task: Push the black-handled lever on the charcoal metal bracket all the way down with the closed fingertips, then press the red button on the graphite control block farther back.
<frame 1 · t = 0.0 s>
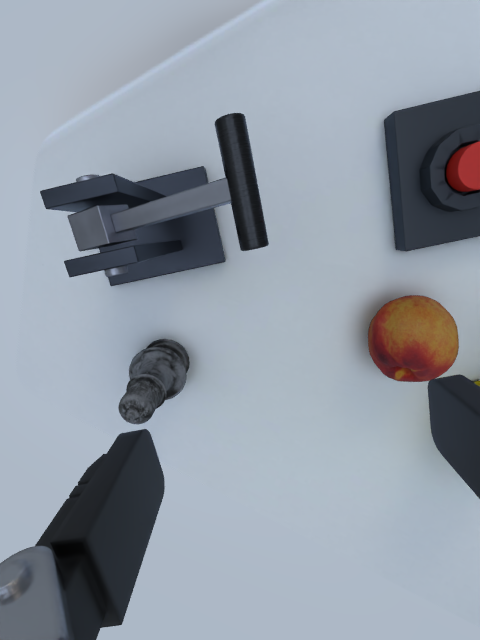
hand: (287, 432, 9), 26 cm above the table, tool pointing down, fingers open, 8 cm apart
fruit: (392, 326, 36), on the table
bracket: (158, 229, 33), on the table
button: (474, 167, 27), point 4 cm above the table, slide at 0.1 cm
black chess piece: (166, 360, 37), on the table
lever: (159, 211, 19), point 15 cm above the table, hinge at 25.0°
control block: (443, 176, 31), on the table
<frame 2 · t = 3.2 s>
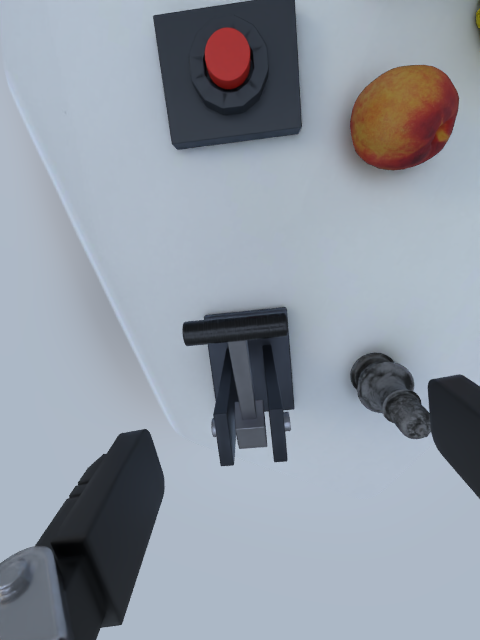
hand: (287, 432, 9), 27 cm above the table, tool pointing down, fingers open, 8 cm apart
fruit: (381, 135, 32), on the table
bracket: (250, 361, 38), on the table
button: (228, 59, 27), point 4 cm above the table, slide at 0.1 cm
black chess piece: (373, 373, 39), on the table
lever: (244, 386, 23), point 15 cm above the table, hinge at 25.0°
control block: (231, 83, 31), on the table
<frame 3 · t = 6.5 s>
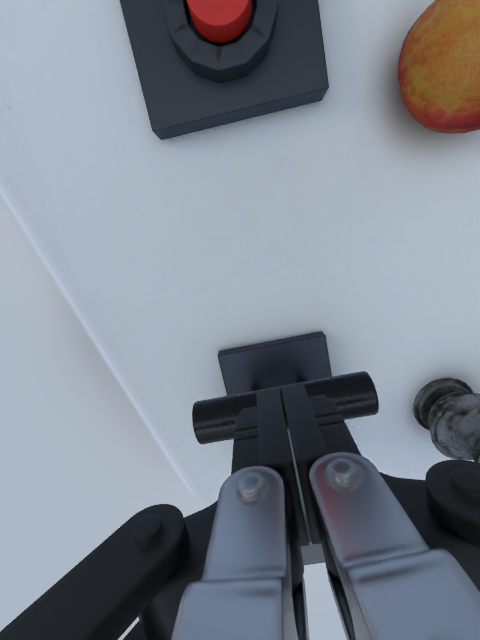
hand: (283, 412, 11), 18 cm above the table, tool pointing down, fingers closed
fruit: (436, 89, 23), on the table
bracket: (282, 403, 30), on the table
black chess piece: (442, 404, 30), on the table
lever: (298, 483, 14), point 15 cm above the table, hinge at 22.2°, touching gripper
control block: (224, 41, 23), on the table
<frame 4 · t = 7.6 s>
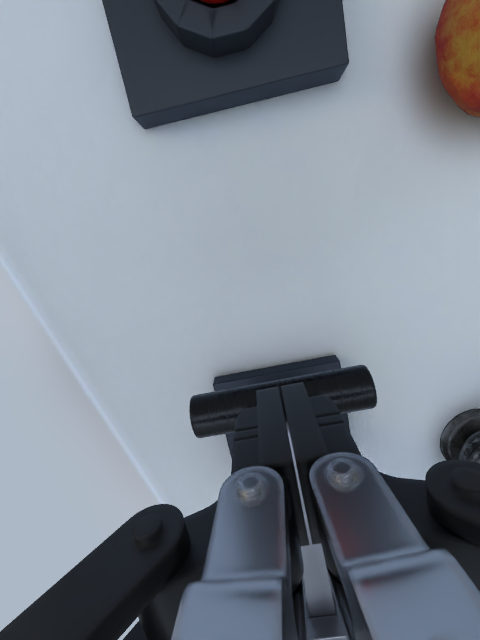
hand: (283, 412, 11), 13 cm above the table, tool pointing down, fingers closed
fruit: (476, 68, 19), on the table
bracket: (288, 436, 26), on the table
black chess piece: (473, 438, 26), on the table
lever: (306, 532, 12), point 13 cm above the table, hinge at -3.2°, touching gripper
control block: (221, 8, 19), on the table
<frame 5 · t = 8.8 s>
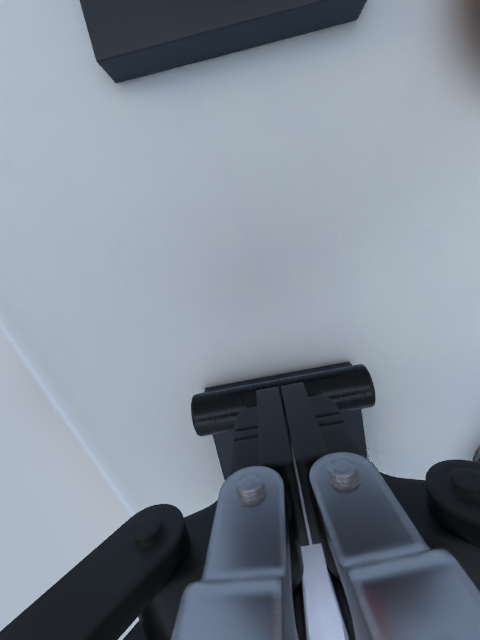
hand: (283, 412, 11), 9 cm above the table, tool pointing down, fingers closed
bracket: (292, 457, 22), on the table
lever: (315, 575, 10), point 11 cm above the table, hinge at -27.1°, touching gripper
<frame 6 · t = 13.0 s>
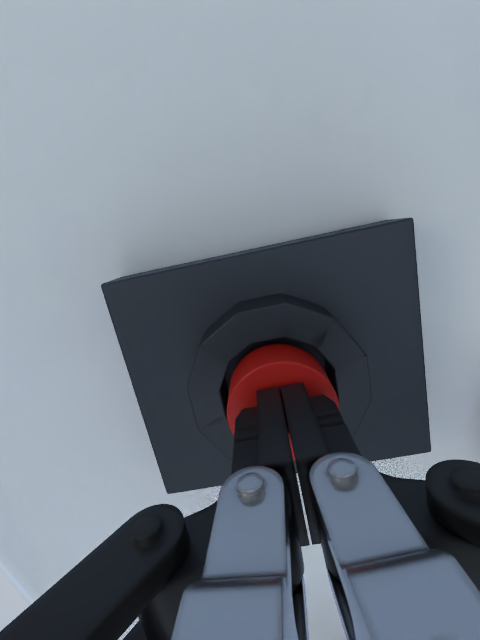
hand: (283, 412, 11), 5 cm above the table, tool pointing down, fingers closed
button: (280, 400, 11), point 4 cm above the table, slide at 0.1 cm, touching gripper
control block: (271, 354, 16), on the table
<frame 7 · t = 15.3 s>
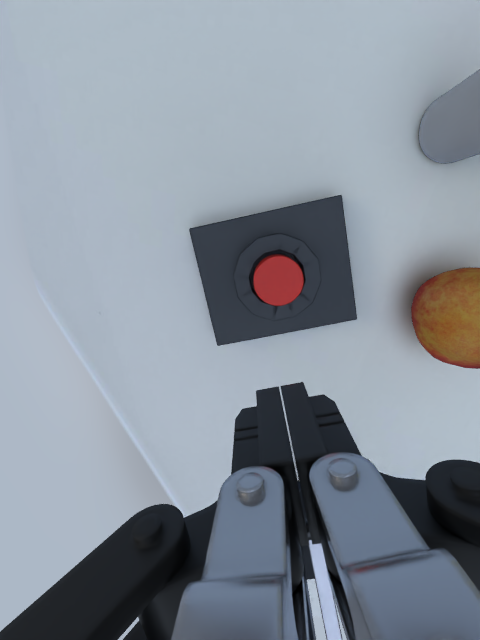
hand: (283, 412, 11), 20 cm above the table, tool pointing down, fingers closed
beverage can: (444, 131, 26), on the table
fruit: (441, 305, 29), on the table
bracket: (311, 525, 36), on the table
button: (277, 279, 25), point 4 cm above the table, slide at 0.1 cm
lever: (328, 608, 25), point 11 cm above the table, hinge at -27.2°
control block: (273, 272, 29), on the table
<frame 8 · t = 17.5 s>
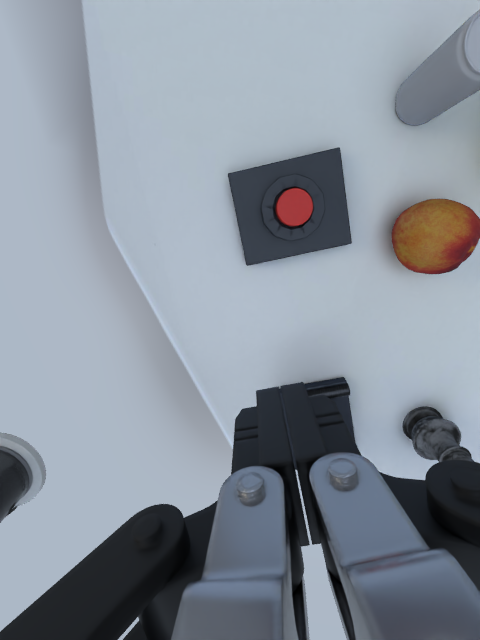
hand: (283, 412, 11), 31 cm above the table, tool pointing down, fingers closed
beverage can: (414, 102, 35), on the table
fruit: (415, 236, 39), on the table
bracket: (316, 422, 45), on the table
button: (293, 207, 34), point 4 cm above the table, slide at 0.1 cm
black chess piece: (421, 423, 45), on the table
lever: (331, 446, 34), point 11 cm above the table, hinge at -27.2°
control block: (288, 210, 38), on the table
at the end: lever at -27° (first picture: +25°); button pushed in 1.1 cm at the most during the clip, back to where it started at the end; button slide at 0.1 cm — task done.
